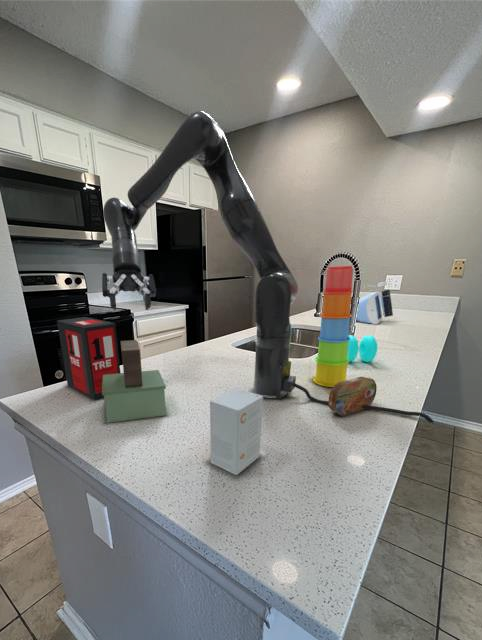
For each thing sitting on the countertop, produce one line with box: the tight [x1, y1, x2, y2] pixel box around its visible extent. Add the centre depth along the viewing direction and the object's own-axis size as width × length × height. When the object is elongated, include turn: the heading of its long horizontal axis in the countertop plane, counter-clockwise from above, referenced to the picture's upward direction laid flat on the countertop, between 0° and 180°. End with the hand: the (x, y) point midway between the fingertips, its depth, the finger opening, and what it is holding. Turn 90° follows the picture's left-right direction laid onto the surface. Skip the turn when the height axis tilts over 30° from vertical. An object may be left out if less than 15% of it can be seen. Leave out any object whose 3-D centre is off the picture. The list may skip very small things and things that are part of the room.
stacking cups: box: [312, 265, 354, 388], centre depth 95 cm, size 10×10×35 cm
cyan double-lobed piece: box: [347, 334, 378, 363], centre depth 121 cm, size 10×10×10 cm
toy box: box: [102, 369, 167, 424], centre depth 82 cm, size 15×13×8 cm
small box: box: [209, 388, 264, 476], centre depth 60 cm, size 8×6×13 cm
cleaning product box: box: [56, 316, 121, 401], centre depth 93 cm, size 16×9×20 cm, turn 47°
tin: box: [327, 376, 378, 417], centre depth 81 cm, size 15×3×8 cm, turn 117°
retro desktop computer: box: [355, 281, 394, 325], centre depth 200 cm, size 25×23×17 cm
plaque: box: [120, 339, 143, 388], centre depth 79 cm, size 10×4×9 cm, turn 16°
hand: (131, 308), depth 86 cm, fingers open, 8 cm apart
